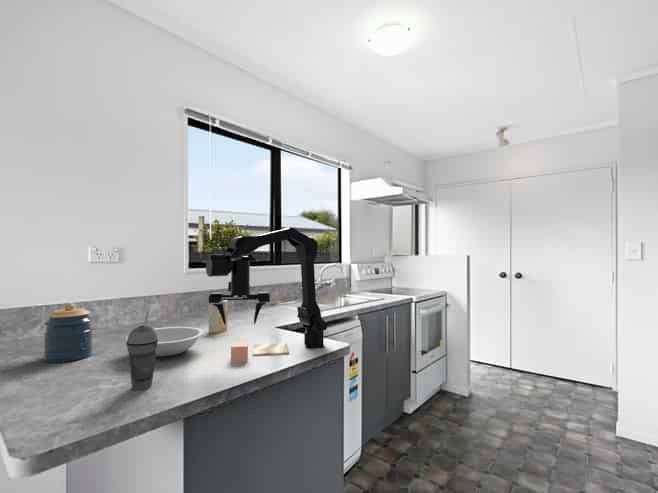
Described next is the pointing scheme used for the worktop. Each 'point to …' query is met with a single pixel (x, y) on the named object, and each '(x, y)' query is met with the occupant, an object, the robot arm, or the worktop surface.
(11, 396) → the worktop surface
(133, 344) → the beverage cup
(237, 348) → the coral cube
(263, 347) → the birch board
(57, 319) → the canister
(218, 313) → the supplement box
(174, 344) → the soup bowl
